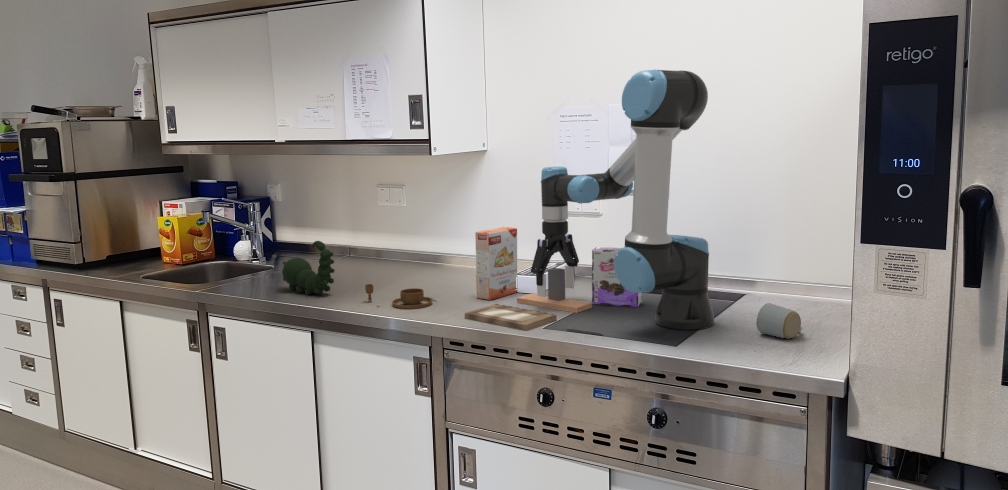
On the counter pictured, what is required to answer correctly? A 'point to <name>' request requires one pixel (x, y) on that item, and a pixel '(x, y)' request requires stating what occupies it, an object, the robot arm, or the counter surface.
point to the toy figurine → (309, 272)
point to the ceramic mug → (778, 321)
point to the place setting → (406, 298)
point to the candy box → (609, 281)
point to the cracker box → (496, 262)
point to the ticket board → (510, 316)
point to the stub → (555, 295)
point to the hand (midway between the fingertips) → (556, 292)
